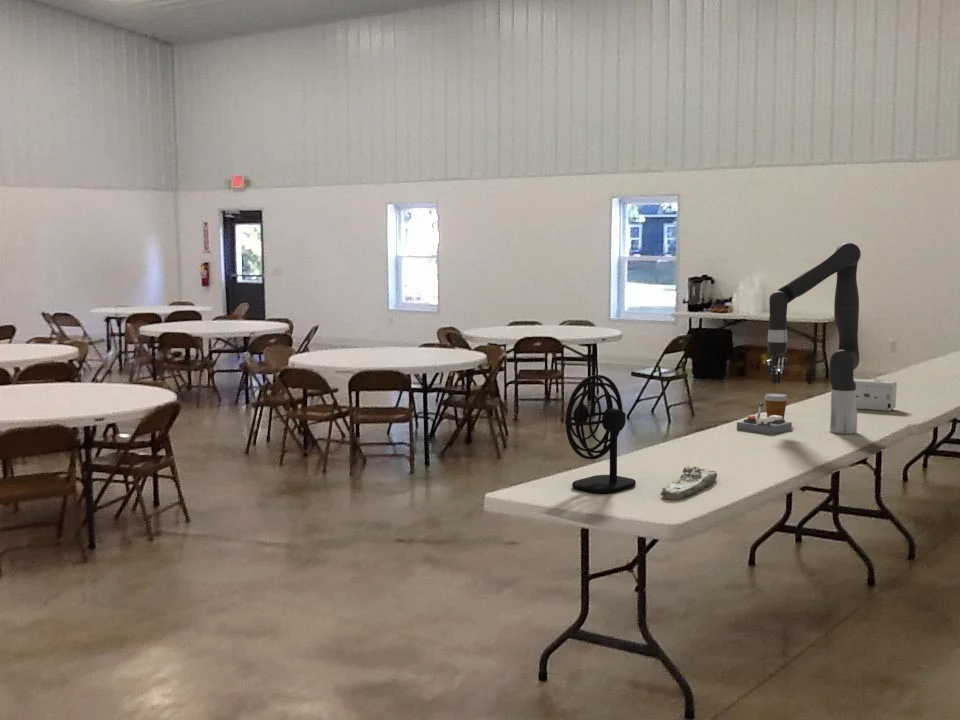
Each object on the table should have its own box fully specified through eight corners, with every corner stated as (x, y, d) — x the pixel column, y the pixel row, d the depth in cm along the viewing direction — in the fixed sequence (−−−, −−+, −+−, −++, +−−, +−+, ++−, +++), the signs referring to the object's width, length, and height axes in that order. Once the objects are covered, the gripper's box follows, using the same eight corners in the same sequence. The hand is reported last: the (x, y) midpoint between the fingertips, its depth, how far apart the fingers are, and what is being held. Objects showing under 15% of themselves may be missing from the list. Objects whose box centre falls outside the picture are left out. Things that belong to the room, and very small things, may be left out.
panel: (791, 429, 414) (791, 419, 414) (771, 434, 404) (771, 423, 404) (756, 424, 426) (757, 414, 426) (736, 429, 416) (736, 418, 415)
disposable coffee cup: (789, 424, 426) (790, 396, 424) (767, 425, 426) (767, 396, 424) (783, 421, 435) (784, 393, 434) (761, 421, 435) (761, 393, 434)
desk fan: (607, 474, 337) (607, 369, 333) (650, 483, 324) (651, 374, 320) (552, 488, 318) (552, 377, 314) (596, 498, 306) (597, 382, 302)
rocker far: (774, 420, 409) (773, 416, 409) (769, 421, 406) (769, 418, 406) (761, 422, 413) (761, 418, 413) (756, 423, 411) (756, 419, 411)
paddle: (782, 419, 415) (782, 416, 415) (777, 420, 412) (777, 417, 412) (773, 417, 418) (773, 414, 418) (768, 419, 415) (768, 416, 415)
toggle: (760, 419, 423) (764, 403, 423) (758, 418, 422) (762, 402, 422) (757, 418, 424) (760, 403, 425) (755, 418, 423) (758, 402, 424)
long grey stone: (652, 503, 306) (683, 509, 301) (652, 486, 305) (684, 491, 300) (694, 474, 335) (723, 479, 330) (695, 458, 334) (724, 463, 329)
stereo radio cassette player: (896, 409, 462) (897, 365, 460) (892, 412, 455) (894, 367, 453) (848, 406, 473) (849, 363, 471) (844, 408, 466) (845, 365, 464)
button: (756, 418, 416) (756, 416, 415) (752, 419, 413) (752, 416, 413) (750, 418, 418) (750, 415, 418) (746, 419, 416) (746, 416, 416)
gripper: (776, 342, 404) (775, 385, 406) (794, 340, 413) (793, 382, 415) (759, 341, 409) (758, 384, 411) (778, 338, 419) (777, 380, 421)
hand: (776, 383), depth 413 cm, fingers closed
